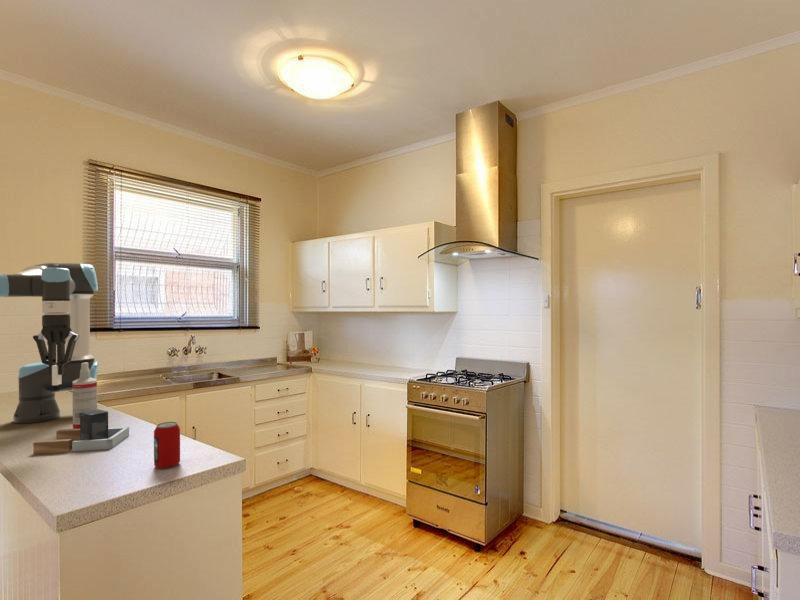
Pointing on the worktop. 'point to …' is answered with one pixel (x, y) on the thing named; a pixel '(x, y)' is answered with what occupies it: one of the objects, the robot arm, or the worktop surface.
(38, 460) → the worktop surface
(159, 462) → the beverage can
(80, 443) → the bay
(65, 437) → the brown bar
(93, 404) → the white bottle
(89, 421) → the box
